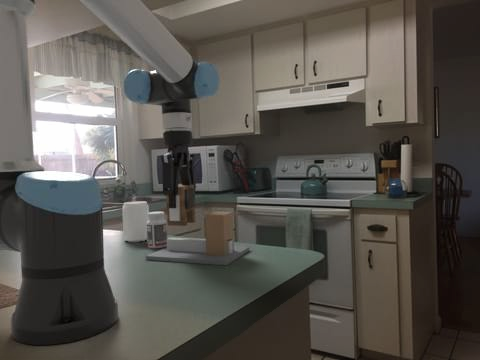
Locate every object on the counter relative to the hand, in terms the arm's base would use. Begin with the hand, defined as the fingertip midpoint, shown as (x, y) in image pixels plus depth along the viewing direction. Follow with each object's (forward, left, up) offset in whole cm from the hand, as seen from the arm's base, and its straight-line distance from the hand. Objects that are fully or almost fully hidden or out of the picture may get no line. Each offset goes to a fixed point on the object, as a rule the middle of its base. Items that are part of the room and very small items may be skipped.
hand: (181, 218), depth 110 cm
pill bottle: (+7, +12, -10) cm, 17 cm away
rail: (0, -5, -9) cm, 11 cm away
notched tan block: (0, 0, -1) cm, 1 cm away
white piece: (+14, +24, -10) cm, 29 cm away
